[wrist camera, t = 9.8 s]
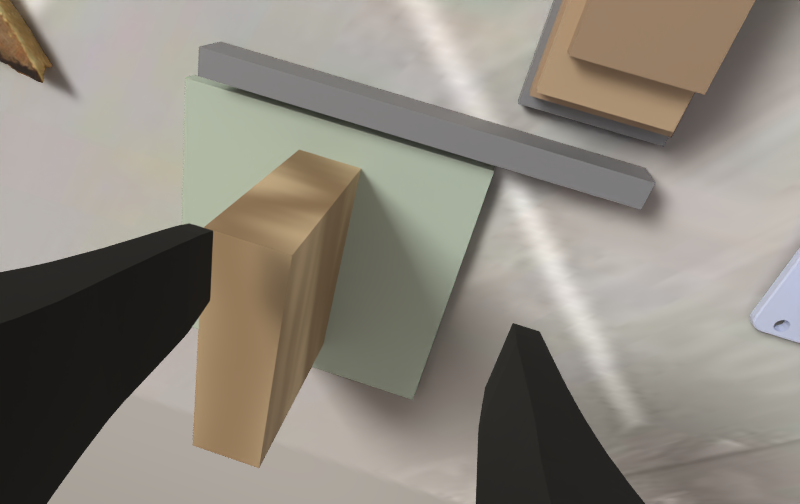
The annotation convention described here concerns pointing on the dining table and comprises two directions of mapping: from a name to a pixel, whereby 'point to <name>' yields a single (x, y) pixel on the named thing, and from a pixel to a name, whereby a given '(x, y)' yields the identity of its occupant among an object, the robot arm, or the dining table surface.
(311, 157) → the oak block
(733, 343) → the dining table surface
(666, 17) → the offcut rack
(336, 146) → the sage mat
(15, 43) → the shard
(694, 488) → the dining table surface
